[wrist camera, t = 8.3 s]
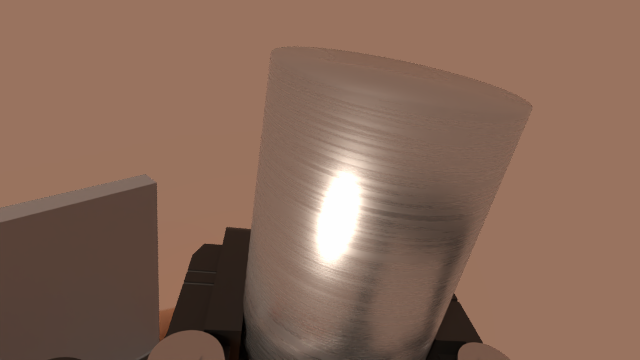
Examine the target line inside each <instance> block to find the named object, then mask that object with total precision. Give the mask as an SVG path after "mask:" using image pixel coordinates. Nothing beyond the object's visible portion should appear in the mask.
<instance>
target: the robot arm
mask: <svg viewBox="0 0 640 360" xmlns="http://www.w3.org/2000/svg"><path fill="white" fill-rule="evenodd" d="M250 236H251V229H242V228H232V227H227V228H226V231H225V237H224V240H223V245H215V244H204V245H203V246H202V247H201V248H200V249H198V250H197V251H196V252H195V253H194V254H193V255H192V258H191V261H190V264H189V268H188V272H187V274H186V277H185V280H184V284H183V286H182V289H181V292H180V295H179V298H178V301H177V305H176V307H175V310H174V314H173V317H172V320H171V323H170V326H169V329H168V332H167V334H166V336H165V338H164V339H163V340H161V341H160V342H159V343H158V344H157V345H156V346H155V347H154V348H153V350H152V351H151V353H149V354H148V355H147V356H145V357H143V358H141V359H140V360H238V358H239V349H240V340H241V331H242V322H243V313H244V309H243V298H244V289H245V280H246V271H247V262H248V253H249V244H250ZM48 360H81V359H77V358H73V357H58V358H53V359H48ZM426 360H510V359H509V358H508V357H507V356H505V355H504V354H503V353H501V352H500V351H498V350H497V349H495V348H493V347H491V346H489V345H486V344H483V342H482V340H481V339H480V337H479V336H478V334H477V332H476V330H475V328H474V327H473V325H472V323H471V322H470V320H469V318H468V317H467V315H466V313H465V311H464V310H463V308H462V306H461V304H460V303H459V302H457V297H456V296H455V294H453V296H452V299H451V301H450V303H449V306H448V308H447V310H446V313H445V315H444V317H443V320H442V322H441V325H440V327H439V329H438V332H437V334H436V336H435V339H434V341H433V343H432V346H431V348H430V350H429V353H428V355H427V357H426Z"/></svg>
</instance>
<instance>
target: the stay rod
mask: <svg viewBox="0 0 640 360" xmlns="http://www.w3.org/2000/svg"><path fill="white" fill-rule="evenodd" d="M531 111H532V105H531V104H530V103H529V102H528V101H526V100H525V99H523V98H521V97H519V96H518V95H515V94H513V93H511V92H508V91H506V90H504V89H501V88H499V87H496V86H493V85H490V84H487V83H484V82H481V81H478V80H475V79H472V78H468V77H465V76H461V75H458V74H454V73H451V72H447V71H443V70H439V69H435V68H431V67H426V66H423V65H418V64H414V63H410V62H405V61H400V60H395V59H390V58H385V57H380V56H374V55H368V54H362V53H356V52H349V51H342V50H335V49H326V48H314V47H281V48H276V49H274V50H272V52H271V57H270V66H269V74H268V83H267V93H266V101H265V110H264V119H263V129H262V137H261V146H260V155H259V165H258V173H257V182H256V191H255V200H254V209H253V218H252V227H251V236H250V244H249V253H248V262H247V271H246V280H245V289H244V298H243V309H244V313H243V322H242V331H241V340H240V349H239V358H238V360H426V357H427V355H428V353H429V350H430V348H431V346H432V343H433V341H434V339H435V336H436V334H437V332H438V329H439V327H440V325H441V322H442V320H443V317H444V315H445V313H446V310H447V308H448V306H449V303H450V301H451V299H452V296H453V294H454V292H455V289H456V287H457V285H458V282H459V280H460V277H461V275H462V273H463V270H464V268H465V266H466V263H467V261H468V259H469V256H470V254H471V252H472V249H473V247H474V245H475V242H476V240H477V238H478V235H479V233H480V231H481V228H482V226H483V224H484V221H485V219H486V216H487V214H488V212H489V210H490V207H491V205H492V202H493V200H494V198H495V195H496V193H497V191H498V188H499V186H500V184H501V181H502V179H503V177H504V174H505V172H506V170H507V167H508V165H509V162H510V160H511V158H512V155H513V153H514V151H515V148H516V146H517V144H518V141H519V139H520V137H521V134H522V132H523V130H524V127H525V125H526V123H527V120H528V118H529V116H530V113H531Z"/></svg>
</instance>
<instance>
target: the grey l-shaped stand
mask: <svg viewBox="0 0 640 360" xmlns="http://www.w3.org/2000/svg"><path fill="white" fill-rule="evenodd" d="M157 234H158V232H157V183H156V182H155V181H154V180H152V179H151V178H150V177H148V176H147V175H146V174H145V175H140V176H136V177H132V178H127V179H123V180H119V181H114V182H110V183H106V184H101V185H97V186H93V187H88V188H84V189H80V190H75V191H71V192H67V193H62V194H58V195H54V196H49V197H45V198H41V199H37V200H32V201H28V202H24V203H20V204H15V205H11V206H6V207H2V208H0V360H48V359H53V358H58V357H73V358H77V359H81V360H140V359H141V358H143V357H145V356H147V355H148V354H149V353H151V351H152V350H153V348H154V347H155V346H156V345H157V344H158V343H159V288H158V236H157Z"/></svg>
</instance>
